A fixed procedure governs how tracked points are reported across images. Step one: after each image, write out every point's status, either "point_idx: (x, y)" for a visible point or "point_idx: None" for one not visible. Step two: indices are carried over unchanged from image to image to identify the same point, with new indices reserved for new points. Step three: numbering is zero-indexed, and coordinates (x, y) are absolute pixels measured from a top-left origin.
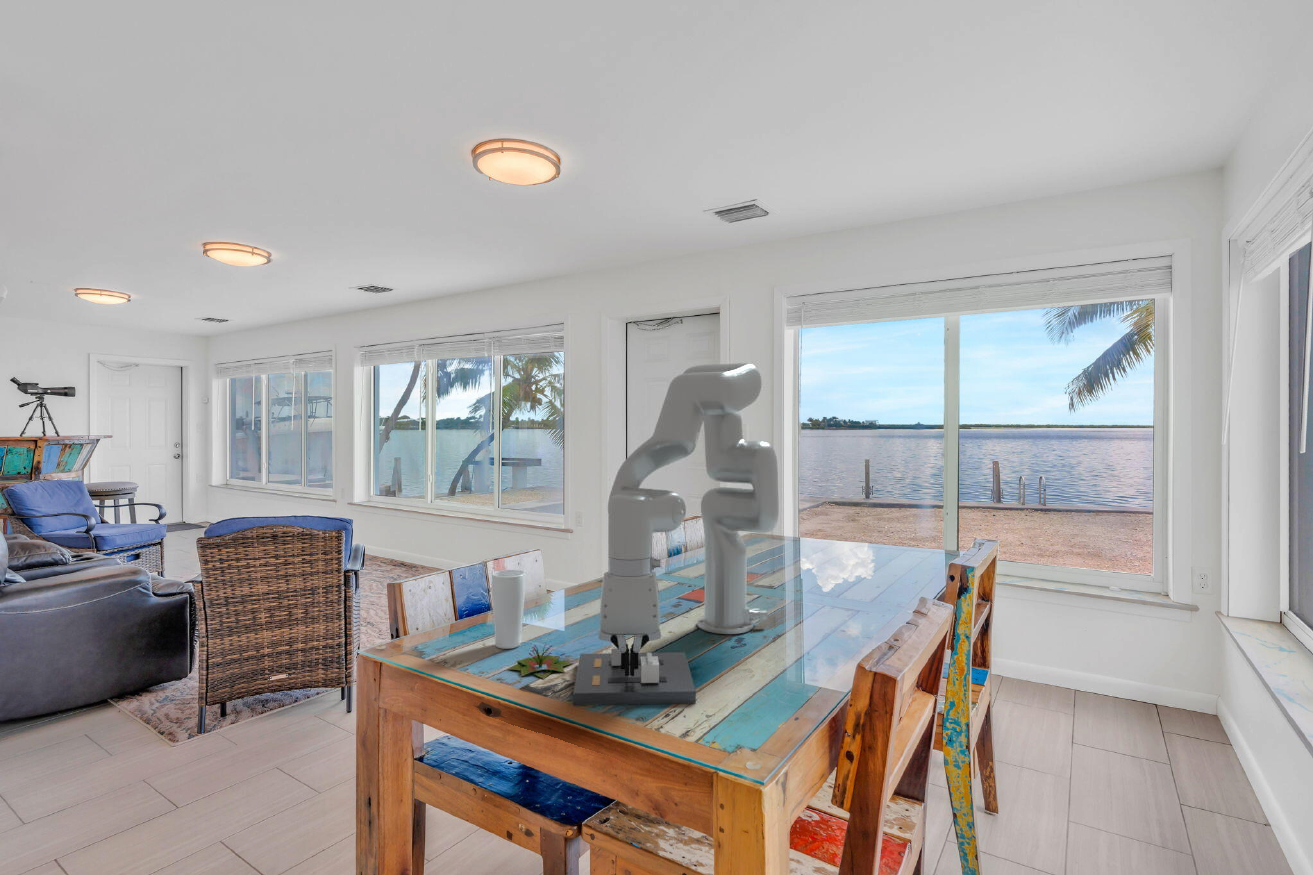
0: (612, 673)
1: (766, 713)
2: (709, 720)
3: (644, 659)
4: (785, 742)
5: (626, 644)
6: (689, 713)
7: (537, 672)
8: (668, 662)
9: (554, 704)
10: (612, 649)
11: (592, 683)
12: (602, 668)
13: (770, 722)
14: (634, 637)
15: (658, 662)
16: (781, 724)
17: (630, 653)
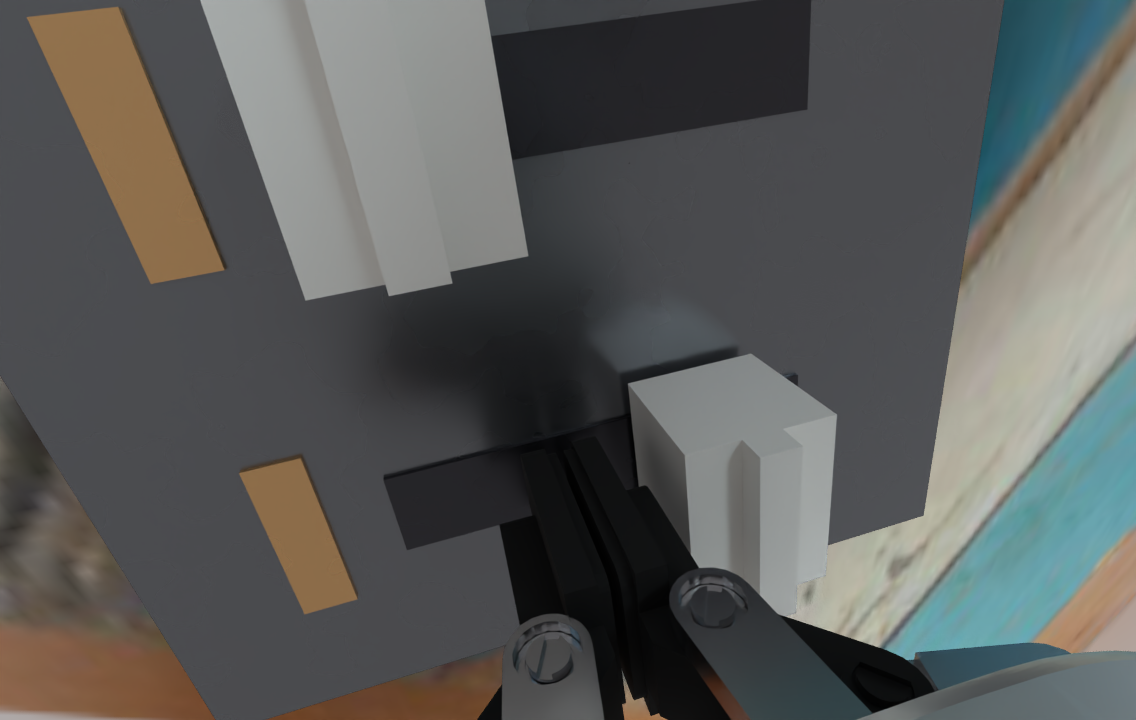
0: (392, 385)
1: (1105, 490)
2: (893, 596)
3: (720, 508)
4: (1065, 647)
5: (605, 699)
6: (831, 568)
7: None
8: (849, 52)
9: (113, 681)
10: (321, 292)
11: (297, 592)
12: (256, 292)
13: (1085, 550)
14: (734, 717)
15: (826, 532)
16: (1110, 553)
17: (637, 697)
